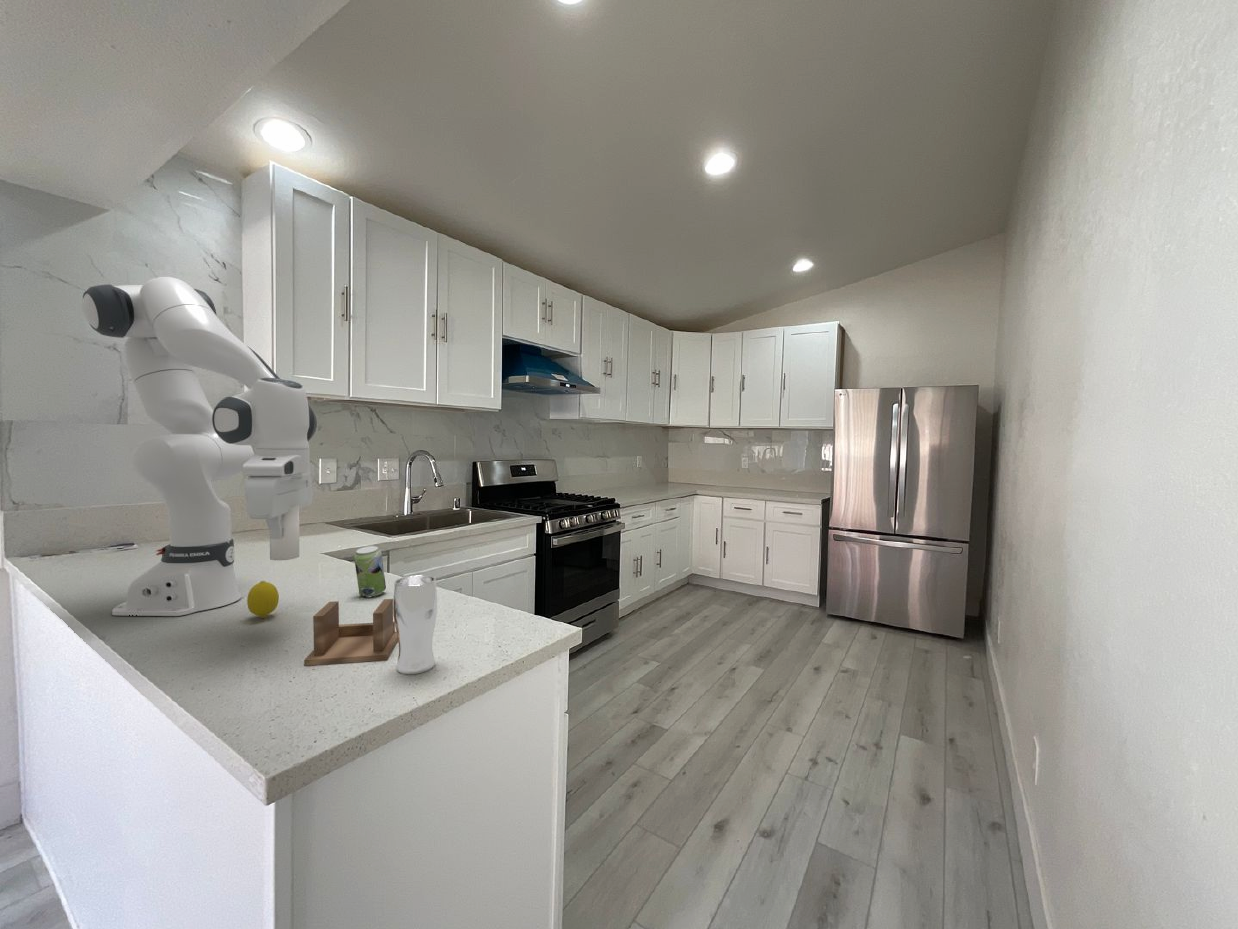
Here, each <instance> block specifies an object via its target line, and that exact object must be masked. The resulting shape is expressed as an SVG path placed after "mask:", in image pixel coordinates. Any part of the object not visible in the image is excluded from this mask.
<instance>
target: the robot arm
mask: <svg viewBox="0 0 1238 929" xmlns="http://www.w3.org/2000/svg"><path fill="white" fill-rule="evenodd" d="M81 309H82V312H83V315H84V317H85V319H86V321H87V322H88V324H89V326H90V327H91V328H92V330H94V331H96V332H97V333H98V334H100V335H102V336H105V337H110V338H119V339H120V338H121V339H123V338H125V337H127V339H126V340H125V342H124V352H125V359H126V363H127V367H128V370H129V374H130V377H131V380H132V382H133V384H134V386H135V389H136V391H137V393H138V395H139V399H140V401H141V403H142V406H143V408H144V411H145V413H146V415H147V416H148V417H149V418H150V419H151V420H152V421H154V423H156V424H159V425H161V426H162V427H164V428H166V429H167V430H168V431H169V432H170V433H168V434H164V435H163V434H162V435H158V436H153V437H149V438H146V439H143V440H142V441H141V442H139V444H138V445H137V446H136V448H135V449H134V451H133V454H132V455H133V456H132V463H133V464H132V465H133V468H134V469H135V472H136V473H137V474H138V476H139V477H141V478H142V480H145V481H146V482H148V483H149V484H151V485H152V486H153V487H154V488H155V489H156V490H157V492H158V493H159V495H160V497H161V498H162V500H163V502H164V506H165V507H166V512H167V516H168V517H167V519H168V520H167V521H168V532H169V533H168V534H169V535H168V536H169V544H168V545H165V546H164V547H162V548H160V549H157V550H156V554H155V555H156V556H159V555H161V559H160V562H158V563H157V564H156V565H154V566H152V567H151V568H150V569H148V570H147V571H146V572H144V573H143V574H141V575H139V576H138V577H137V578H135V579H134V580H133V581H132V582H131V583H130V585H129V586H128V590H127V593H126V600H125V601H124V602H122V603H119V604H118V605H116V606H114V607H113V609H112V613H111V615H112V616H129V615H130V617H131V616H132V615H133V617H134V616H136V615H137V617H138V616H140V617H141V616H143V617H144V616H145V617H146V616H147V617H150V616H151V617H152V616H153V617H155V616H156V617H157V616H158V617H180V616H184V615H190V614H193V613H197V612H201V611H207V610H211V609H215V608H219V607H223V606H227V605H230V604H233V603H234V602H237V601H239V600H240V599H241V598H242V594H241V592H240V589H239V586H238V583H237V578H236V572H235V567H234V566H235V565H234V563H235V541H234V539H233V538H232V515H231V514H232V513H231V512H232V510H231V508H230V505H229V504H228V503H226V502H225V501H224V500H221V499H220V498H219V497H218V495H217V493H216V492H215V489H214V487H213V483H212V482H213V481H223V480H230V479H232V478H233V479H234V478H235V477H238V476H241V475H243V476H244V477H246V480H245V485H244V486H245V487H244V490H245V491H244V493H245V494H244V495H245V507H246V509H245V510H246V512H247V516H248V517H249V518H250V519H251V520H265V523H266V525H267V528H268V530H269V540H270V539H280V538H282V537H283V536H284V534H283V533H284V528H282V527H281V522H280V521H281V520H282V515H283V514H286V513H288V512H290V507H293V506H296V505H299V516H300V515H301V509H302V508H305V507H308V506H311V505H312V503H313V498H314V496H313V495H314V493H313V492H314V491H313V482H312V475H311V466H310V465H311V464H310V463H311V458H310V456H311V454H310V452H311V451H310V450H311V448H310V443H309V441H311V439H312V438H313V436H315V432H316V430H317V427H318V421H317V420H318V419H317V417H316V414H315V410H313V409H312V407H311V406H310V405H309V401H308V395H307V391H306V389H305V386H304V385H302V384H300V383H298V382H297V381H293V380H287V379H281V378H280V377H279V376H278V374H277V373H275V371H274V370H273V369H272V368H271V367H270V366H269V364H267V362H266V361H265V360H264V359H263V358H262V357H261V356H260V355H259V354H258V353H257V352H255V351H254V350H253V349H252V348H251V347H249V346H248V345H247V344H246V343H244V342H243V341H241V339H239V338H238V337H237V336H236V335H235V334H233V333H232V332H231V330H229V329H228V327H227V326H226V325H224V323H223V322H222V321H221V320H220V319H219V317H218V314H217V311H216V307H215V304H214V302H213V300H212V298H211V297H210V296H209V295H208V294H207V293H206V292H205V291H203V290H200V289H198V288H193V287H192V286H191V284H189V283H187V282H185V281H184V280H182V279H179V278H177V277H176V278H175V277H173V276H157V277H154V278H151V279H149V280H147V281H146V282H144V284H122V285H119V284H118V285H112V284H107V283H106V284H99V285H94V286H90V287H89V288H88V289H87V290H85V292H83V295H82V304H81ZM194 367H195V368H198V369H202V370H206V371H210V372H213V373H217V374H219V375H223V376H226V377H228V378H231V379H233V380H236V381H237V382H240V383H241V384H242V385H244V386H245V387H246V388H247V389H248V390H246V391H243V392H241V393H238V394H236V395H232V396H225V397H224V398H223V399H221V400H220V401H219V402H218V403H217V404H216V405H215V407H214V409H213V407H212V405H210V402H209V401H208V399H207V397H206V394H205V393H204V390H203V388H202V386H201V383H200V380H199V379H198V376H197V373H196V371H195V369H194ZM252 446H254V450H253V447H252Z"/></svg>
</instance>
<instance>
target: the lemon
mask: <svg viewBox="0 0 1238 929" xmlns="http://www.w3.org/2000/svg"><path fill="white" fill-rule="evenodd" d="M279 597H280V596H279V591H278V589H277V587H276V586H275V585H274V584H272V583H271V582H268V581H266V580H262V581H261V580H260V582H259V583H256V584H254V585H253V586H252V587H251V589H250V590H249V591H248V595H247V598H246V599H247V600H246V601H247V603H246V604H247V607H248V608H247V609H248V610H249V611H250V613H251V614H253V615H255V616H257V617H260V618H262V619H265V618H266V617H267V616H268V615H270V614H271V613H273V612H274V611H275V610H276V609H277V607H278V604H279V599H280V598H279Z"/></svg>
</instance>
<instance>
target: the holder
mask: <svg viewBox="0 0 1238 929" xmlns="http://www.w3.org/2000/svg"><path fill="white" fill-rule="evenodd" d="M339 606H340V604H339V600H337V601H329V602H327V603H326V604H325V605H324V606H323V607H322V608H321V609H319V611H317V612H316V613H315V614H314V615H313V616H312V617H313V619H312V621H313V622H312V623H313V626H312V627H313V650H312V651H311V652H310V653H309V654H308V655H307V656H306V657H305V658H304V659H303V664H304V665H303V666H319V665H321V666H323V665H336V664H350V663H351V664H352V663H362V662H363V663H364V662H365V663H367V662H380V661H388V659H389V658H390V656H391V654H392V652H393V650H394V649H395V646H396V645H397V644H398V643H399V642H398V636H397V632H396V627H395V621H394V613H393V598H385V599H383V600H382V601H381V603H379V605H378V606H377V607H376V609H375V610H374V611H373V612H372V622H365V623H364V622H363V623H346V624H340V611H339V610H340V607H339Z"/></svg>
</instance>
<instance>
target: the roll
mask: <svg viewBox="0 0 1238 929" xmlns="http://www.w3.org/2000/svg"><path fill="white" fill-rule="evenodd" d="M280 522H281V527H282V528H284V533H283V534H284V536H283V537H282V538H280V539H270V538H269V560H271V561H289V560H295V559H298V558H300V515H299V505H296V506H293V507H290V512H288V513H286V514H283V515H282V520H281V521H280Z"/></svg>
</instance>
